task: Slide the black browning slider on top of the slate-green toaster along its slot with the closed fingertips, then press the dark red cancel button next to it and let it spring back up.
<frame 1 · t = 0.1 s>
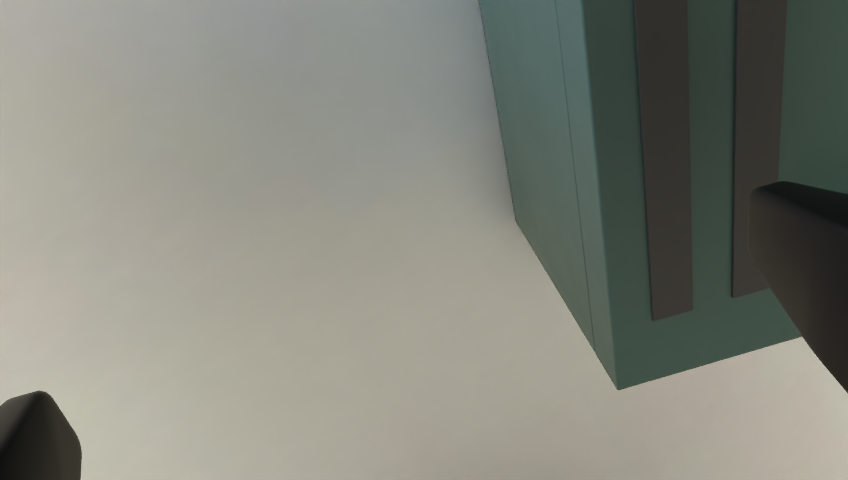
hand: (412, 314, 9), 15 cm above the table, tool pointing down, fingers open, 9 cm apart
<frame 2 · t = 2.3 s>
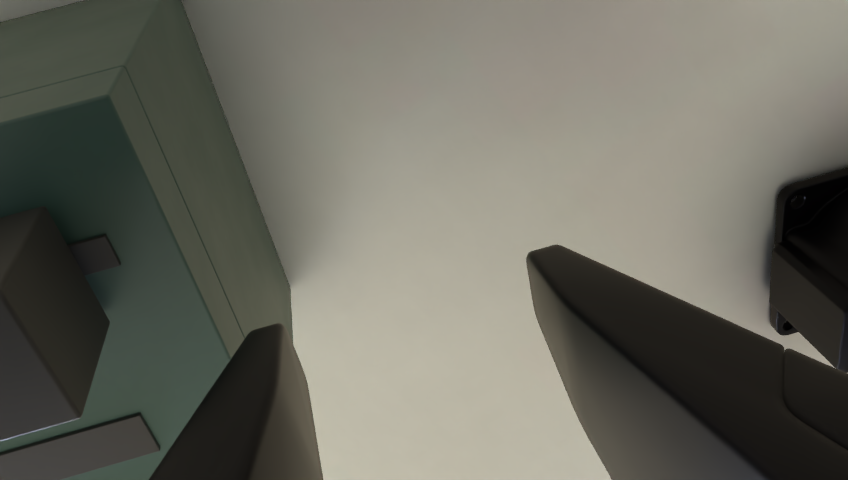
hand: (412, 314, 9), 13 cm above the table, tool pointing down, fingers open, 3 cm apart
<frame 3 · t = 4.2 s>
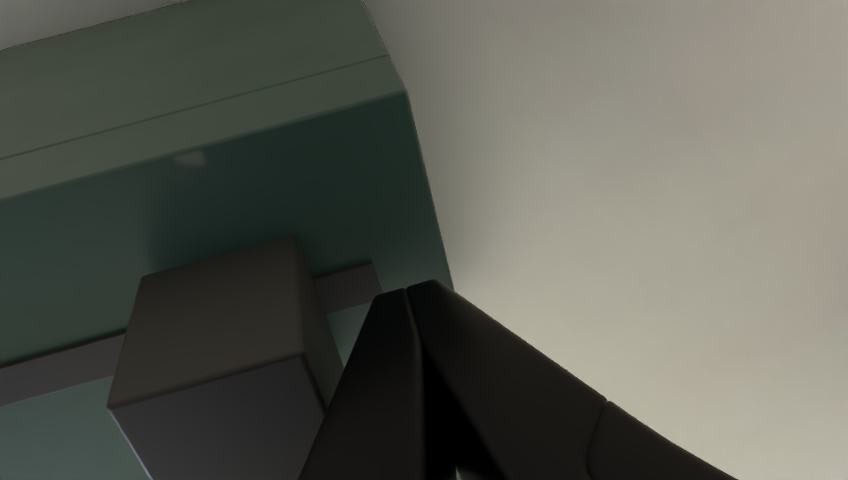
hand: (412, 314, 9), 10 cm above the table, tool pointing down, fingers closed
toaster: (91, 240, 19), on the table
slider: (247, 386, 9), point 10 cm above the table, slide at 0.3 cm, touching gripper
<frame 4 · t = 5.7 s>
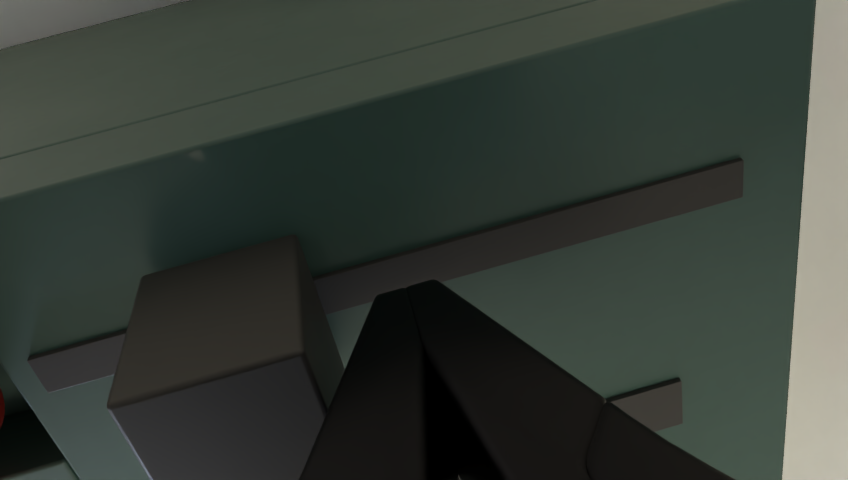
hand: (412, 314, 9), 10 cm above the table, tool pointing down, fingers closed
toaster: (292, 185, 19), on the table
slider: (247, 386, 9), point 10 cm above the table, slide at 5.6 cm, touching gripper
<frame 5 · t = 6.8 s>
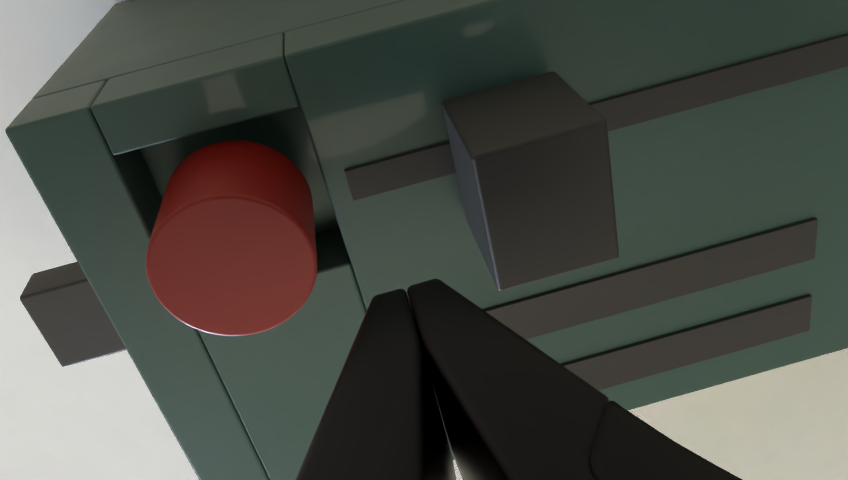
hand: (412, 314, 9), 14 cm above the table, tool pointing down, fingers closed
toaster: (444, 101, 22), on the table
cancel button: (237, 235, 12), point 10 cm above the table, slide at 0.1 cm
slider: (527, 177, 12), point 11 cm above the table, slide at 5.6 cm
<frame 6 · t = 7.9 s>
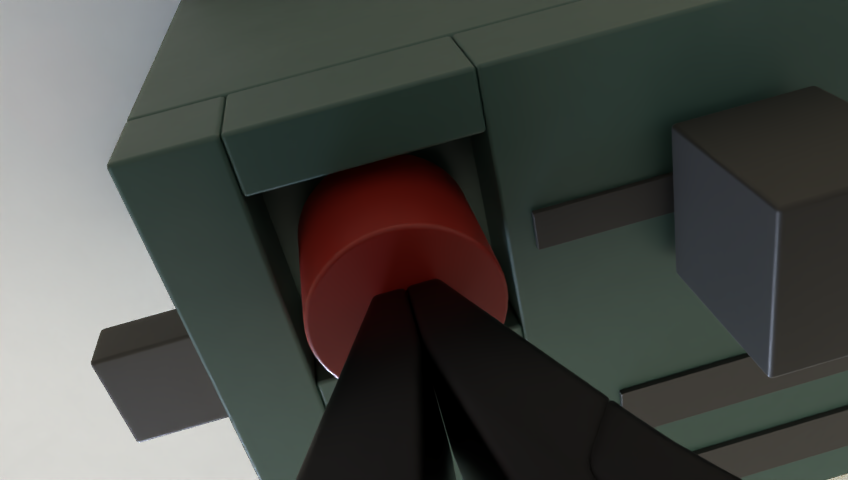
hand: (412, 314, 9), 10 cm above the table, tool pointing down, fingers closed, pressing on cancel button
toaster: (550, 112, 19), on the table
cancel button: (396, 270, 10), point 9 cm above the table, slide at -0.6 cm, touching gripper
slider: (793, 225, 9), point 11 cm above the table, slide at 5.6 cm
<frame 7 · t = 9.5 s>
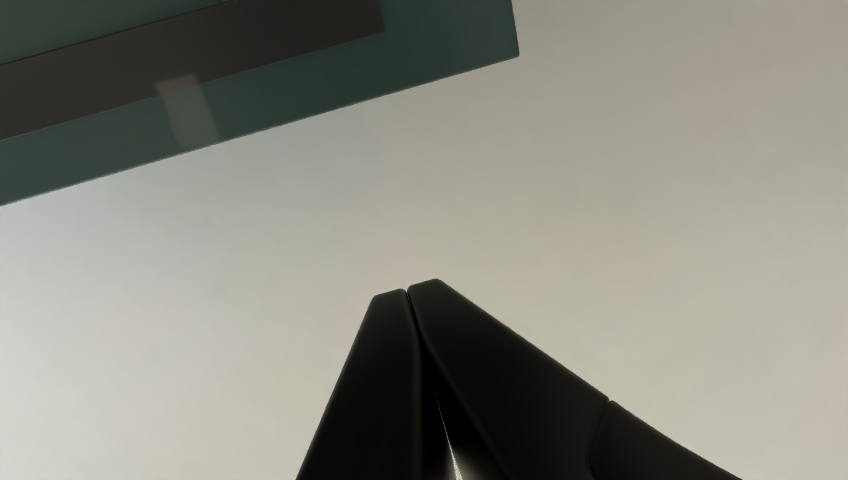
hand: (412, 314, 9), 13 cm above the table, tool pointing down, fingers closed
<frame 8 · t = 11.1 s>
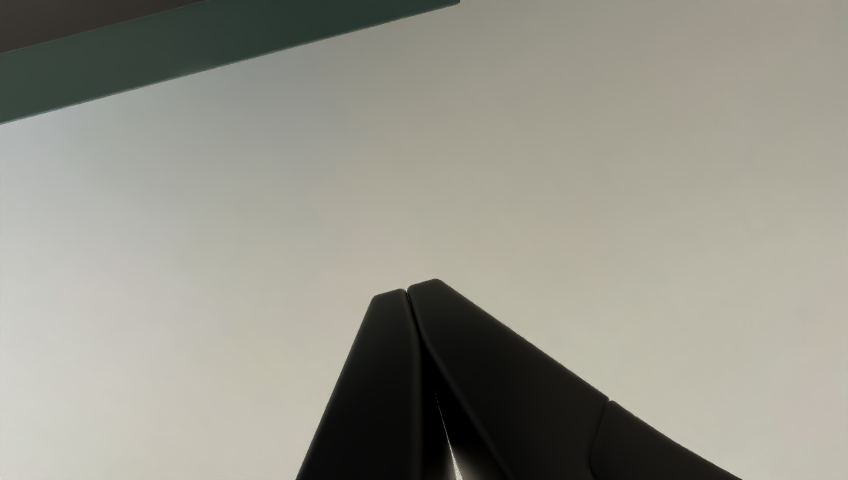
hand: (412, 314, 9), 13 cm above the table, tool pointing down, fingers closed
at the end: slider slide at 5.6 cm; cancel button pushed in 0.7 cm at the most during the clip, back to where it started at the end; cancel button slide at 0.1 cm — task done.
